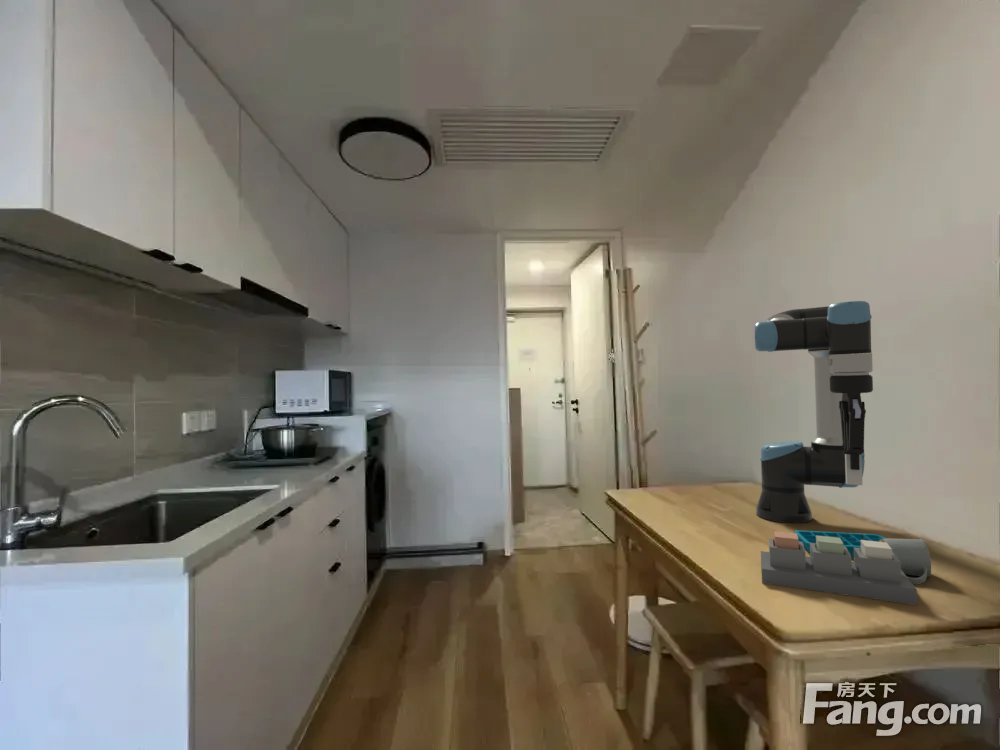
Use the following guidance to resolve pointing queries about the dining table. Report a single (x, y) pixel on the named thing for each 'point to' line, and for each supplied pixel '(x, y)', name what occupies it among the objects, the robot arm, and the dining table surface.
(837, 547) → the sage key
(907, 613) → the dining table surface
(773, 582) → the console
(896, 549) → the ceramic mug
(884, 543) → the ivory key
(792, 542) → the terracotta key
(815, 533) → the ice cube tray
